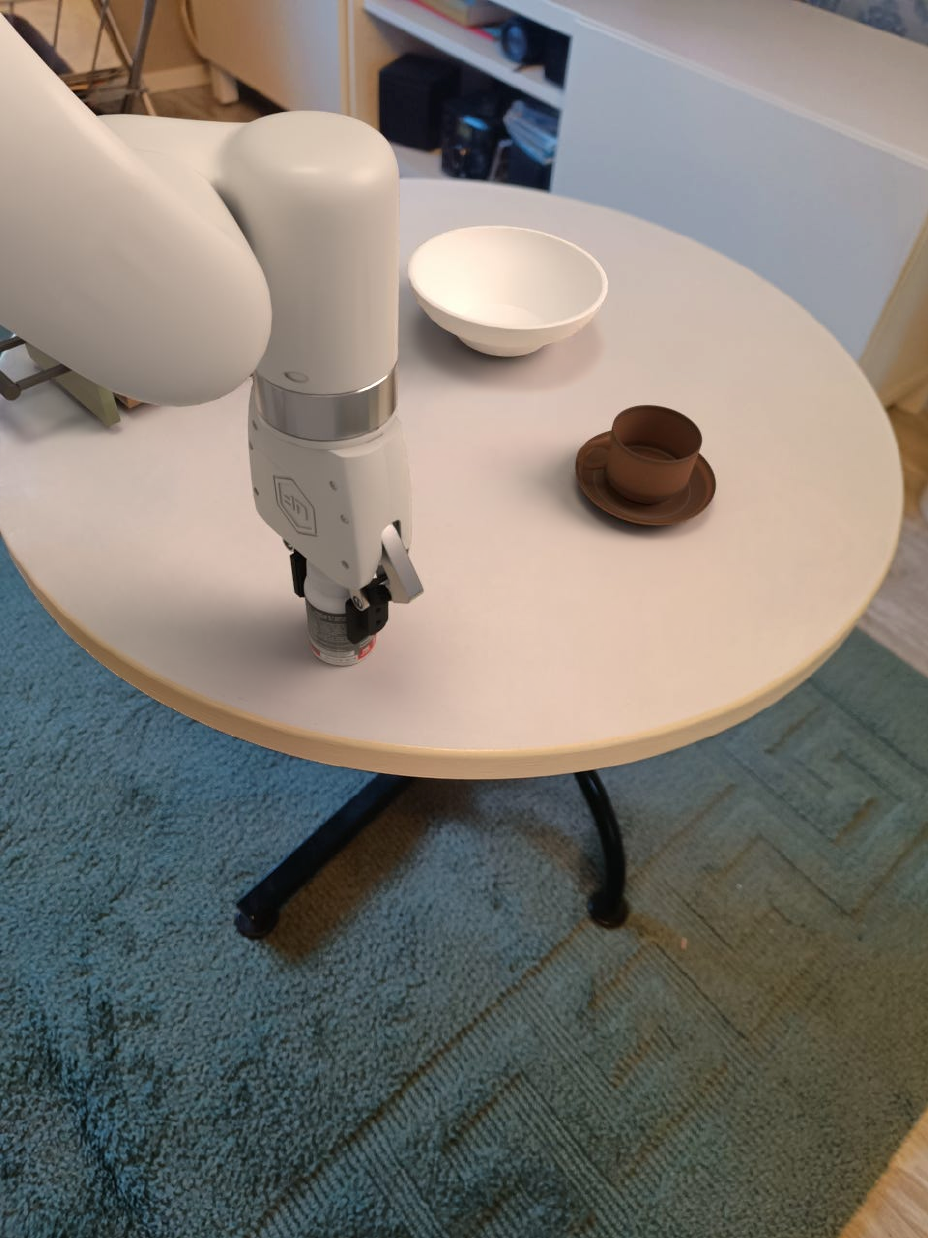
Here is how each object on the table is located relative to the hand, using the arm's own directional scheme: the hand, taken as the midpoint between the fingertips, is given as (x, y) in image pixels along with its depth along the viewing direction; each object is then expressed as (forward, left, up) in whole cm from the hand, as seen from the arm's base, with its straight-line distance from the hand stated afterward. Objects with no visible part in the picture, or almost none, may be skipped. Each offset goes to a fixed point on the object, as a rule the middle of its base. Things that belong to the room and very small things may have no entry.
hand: (341, 606), depth 59 cm
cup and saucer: (+28, +11, -4) cm, 30 cm away
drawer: (-15, +35, -3) cm, 38 cm away
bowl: (+23, +36, -4) cm, 43 cm away
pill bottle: (0, 0, -4) cm, 4 cm away
